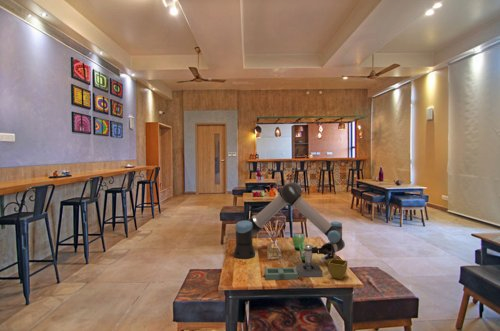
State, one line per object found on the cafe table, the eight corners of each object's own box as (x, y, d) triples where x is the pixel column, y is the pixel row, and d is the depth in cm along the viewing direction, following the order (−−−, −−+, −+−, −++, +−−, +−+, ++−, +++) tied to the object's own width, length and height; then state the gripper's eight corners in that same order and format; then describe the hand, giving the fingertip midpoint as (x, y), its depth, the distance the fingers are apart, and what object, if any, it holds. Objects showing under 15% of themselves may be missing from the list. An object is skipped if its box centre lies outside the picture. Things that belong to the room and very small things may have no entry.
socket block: (295, 268, 184) (295, 264, 184) (316, 268, 184) (316, 263, 184) (299, 277, 171) (299, 272, 171) (322, 276, 171) (322, 271, 171)
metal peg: (304, 271, 179) (304, 244, 179) (311, 271, 179) (311, 244, 179) (305, 274, 175) (305, 247, 175) (313, 273, 175) (312, 246, 175)
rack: (264, 273, 178) (264, 268, 178) (294, 272, 178) (294, 267, 178) (265, 279, 168) (265, 274, 168) (297, 279, 168) (297, 273, 168)
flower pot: (332, 273, 176) (332, 258, 175) (347, 276, 171) (347, 260, 171) (328, 278, 168) (328, 262, 168) (344, 281, 164) (343, 265, 163)
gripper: (347, 258, 185) (330, 268, 170) (312, 250, 202) (294, 258, 187) (347, 246, 185) (330, 255, 170) (312, 239, 202) (294, 246, 187)
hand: (311, 257), depth 178 cm, fingers open, 13 cm apart
